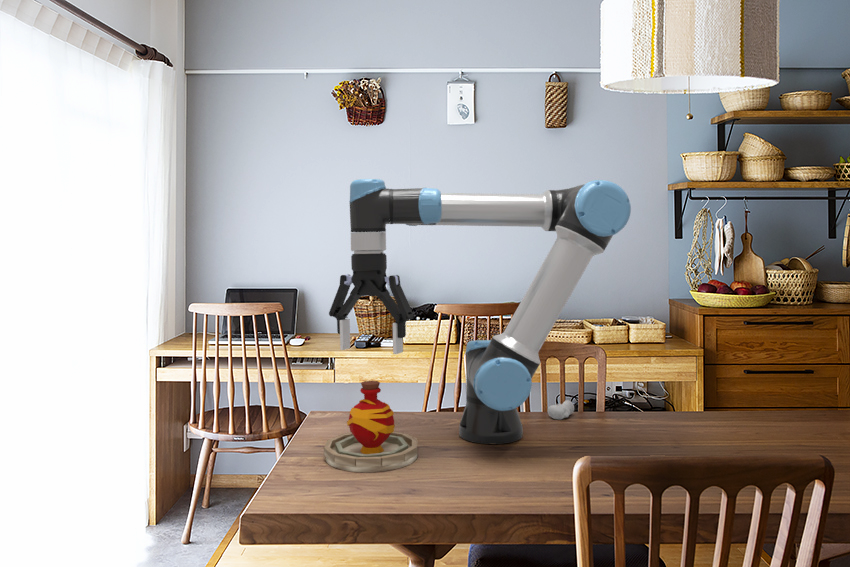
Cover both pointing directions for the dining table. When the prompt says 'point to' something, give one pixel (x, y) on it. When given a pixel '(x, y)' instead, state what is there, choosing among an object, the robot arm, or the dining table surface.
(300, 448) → the dining table surface
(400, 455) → the tray
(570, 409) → the pale two-lobed sculpture
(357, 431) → the potion bottle
